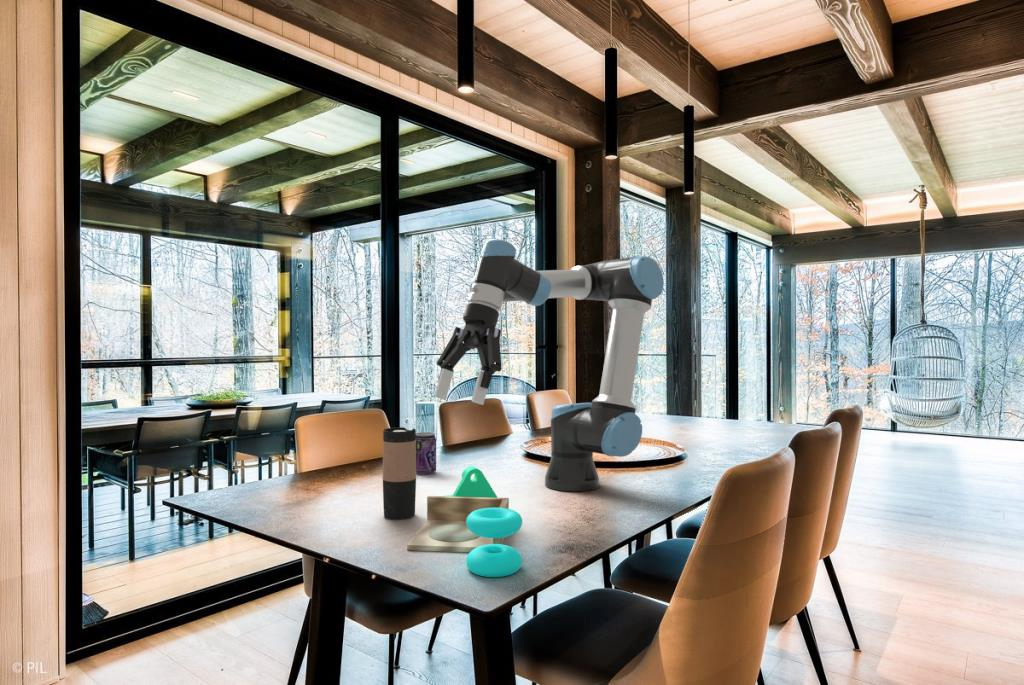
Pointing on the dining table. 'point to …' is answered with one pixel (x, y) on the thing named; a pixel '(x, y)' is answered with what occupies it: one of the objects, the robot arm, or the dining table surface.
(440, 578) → the dining table surface
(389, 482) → the travel mug
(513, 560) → the donuts
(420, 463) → the beverage can
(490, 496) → the camera mount
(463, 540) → the corner tray
